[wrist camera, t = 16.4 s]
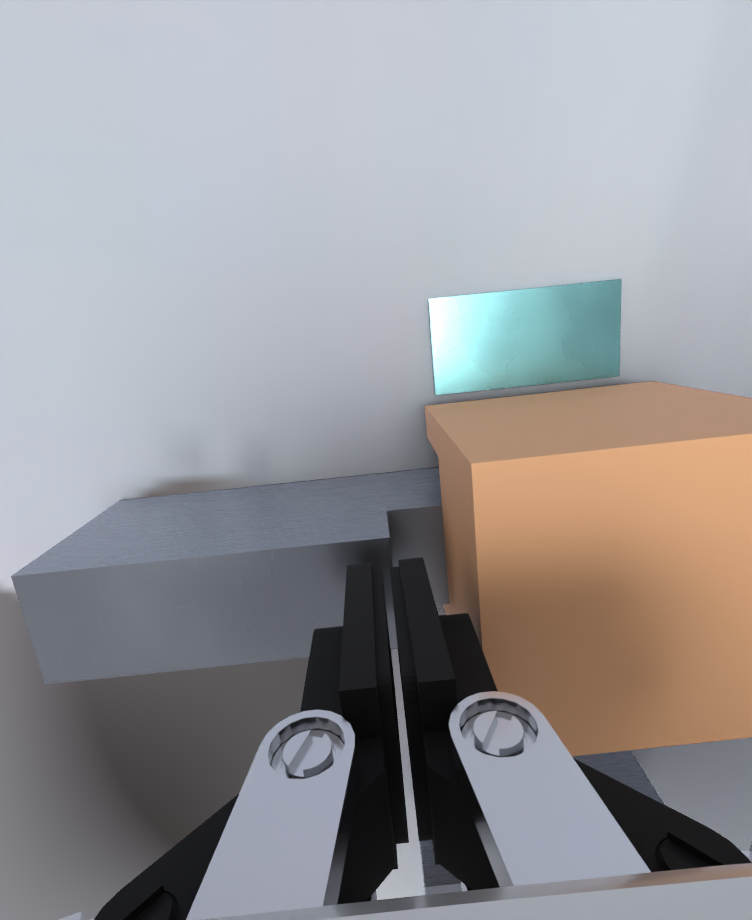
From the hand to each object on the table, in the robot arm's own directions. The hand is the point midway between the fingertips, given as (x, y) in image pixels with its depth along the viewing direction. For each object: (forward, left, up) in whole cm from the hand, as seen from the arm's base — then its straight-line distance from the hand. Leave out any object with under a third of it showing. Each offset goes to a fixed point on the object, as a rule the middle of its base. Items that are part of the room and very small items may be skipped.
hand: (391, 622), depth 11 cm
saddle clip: (+1, -5, -6) cm, 8 cm away
